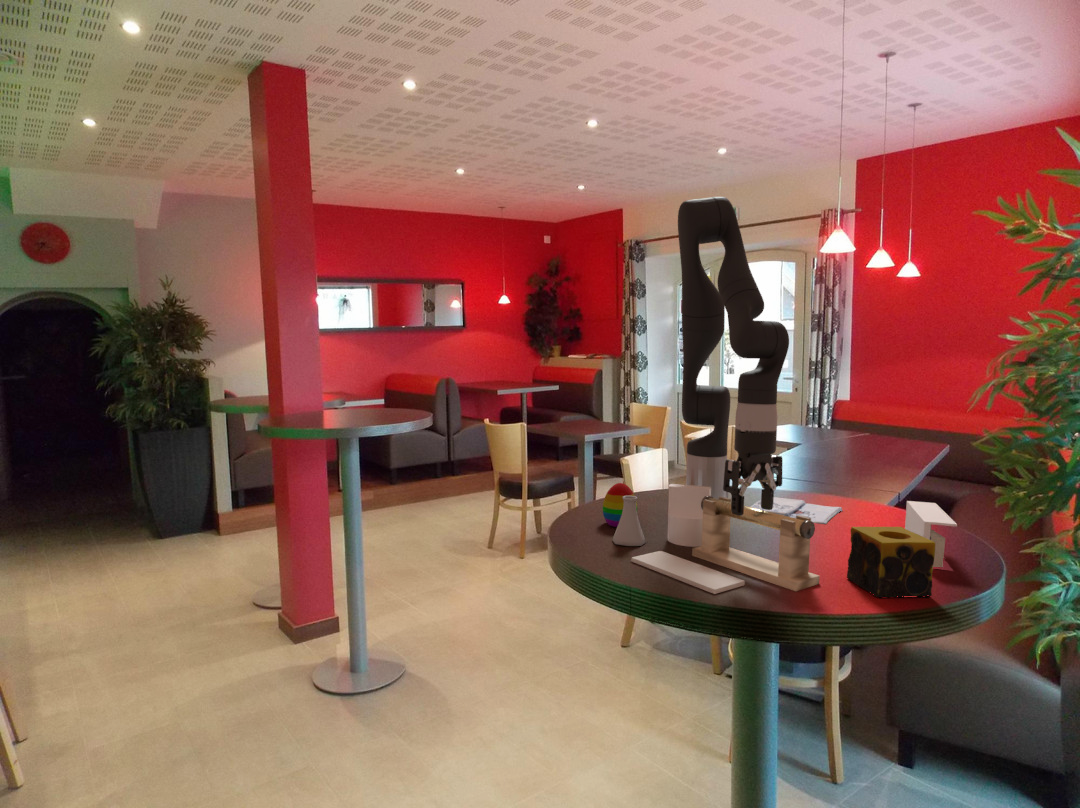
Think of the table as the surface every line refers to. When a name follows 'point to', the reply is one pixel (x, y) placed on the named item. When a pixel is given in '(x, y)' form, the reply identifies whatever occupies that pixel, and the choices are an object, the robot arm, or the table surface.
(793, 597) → the table surface
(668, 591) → the table surface
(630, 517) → the flask
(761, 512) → the brass rail
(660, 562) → the grey mat
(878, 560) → the yellow cube with hole
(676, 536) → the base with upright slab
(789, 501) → the open book
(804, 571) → the rail stand
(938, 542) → the white angled piece
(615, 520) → the decorative egg
